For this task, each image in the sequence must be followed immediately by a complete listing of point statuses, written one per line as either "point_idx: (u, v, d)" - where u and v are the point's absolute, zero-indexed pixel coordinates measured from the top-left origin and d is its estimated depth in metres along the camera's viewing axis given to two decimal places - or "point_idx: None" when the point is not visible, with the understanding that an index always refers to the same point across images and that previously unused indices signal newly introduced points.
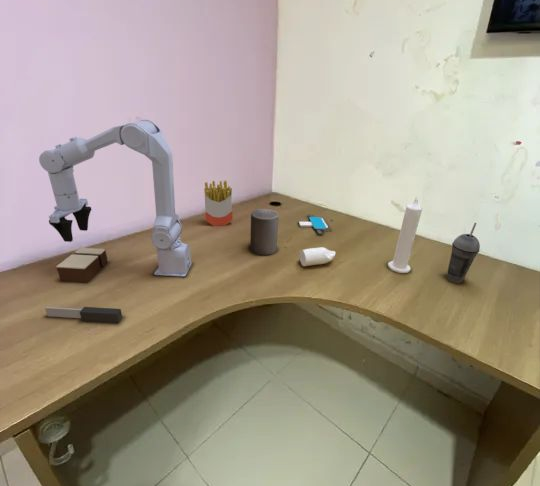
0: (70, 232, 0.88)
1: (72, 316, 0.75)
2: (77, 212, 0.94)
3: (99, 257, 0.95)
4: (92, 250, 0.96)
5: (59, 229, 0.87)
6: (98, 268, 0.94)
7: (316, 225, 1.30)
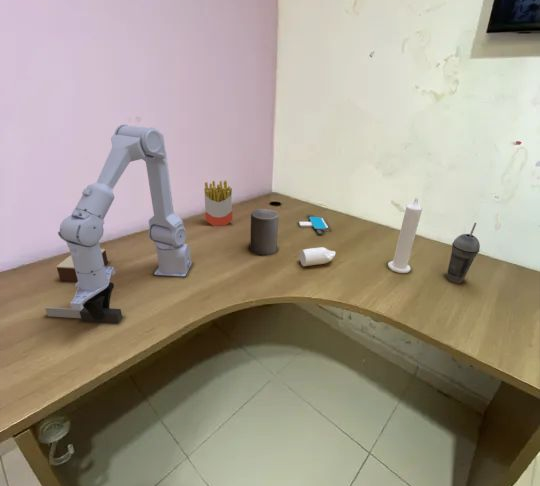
0: (101, 309, 0.72)
1: (72, 316, 0.75)
2: None
3: None
4: None
5: (88, 307, 0.71)
6: None
7: (316, 225, 1.30)
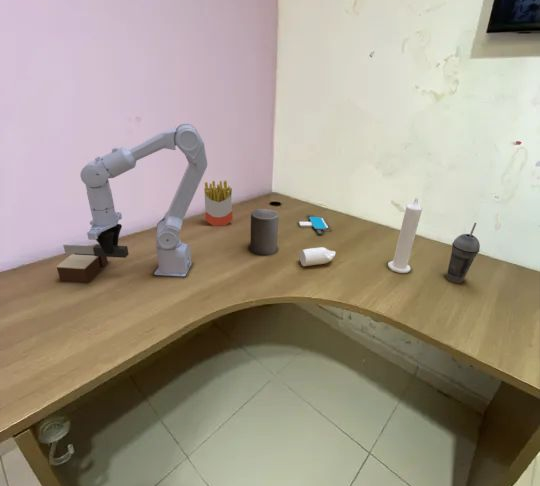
0: (111, 244, 0.86)
1: (86, 252, 0.89)
2: (107, 230, 0.88)
3: (99, 257, 0.95)
4: None
5: (100, 242, 0.85)
6: (98, 268, 0.94)
7: (316, 225, 1.30)
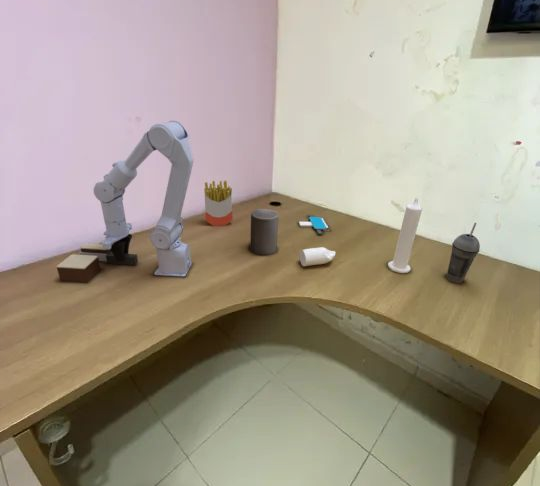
0: (123, 253, 0.95)
1: (99, 259, 0.98)
2: (119, 240, 0.96)
3: (104, 252, 0.97)
4: (97, 245, 0.98)
5: (113, 250, 0.94)
6: (98, 268, 0.94)
7: (316, 225, 1.30)
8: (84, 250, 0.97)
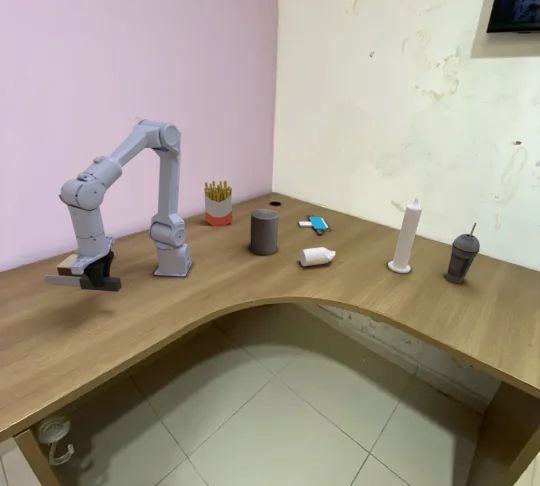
0: (101, 277, 0.72)
1: (71, 284, 0.75)
2: (97, 259, 0.74)
3: None
4: None
5: (88, 274, 0.71)
6: None
7: (316, 225, 1.30)
8: None
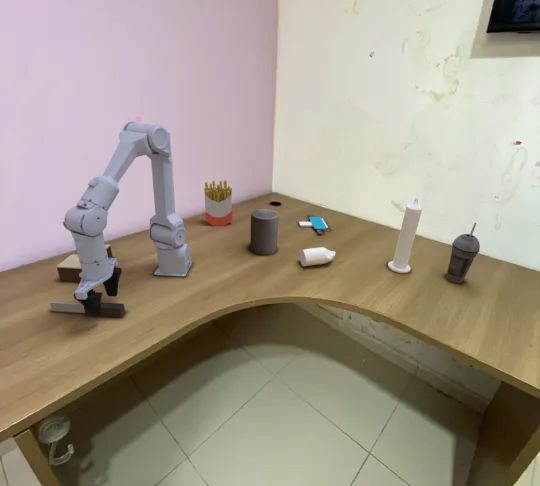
0: (99, 306, 0.71)
1: (76, 311, 0.77)
2: None
3: None
4: None
5: (85, 304, 0.70)
6: None
7: (316, 225, 1.30)
8: None
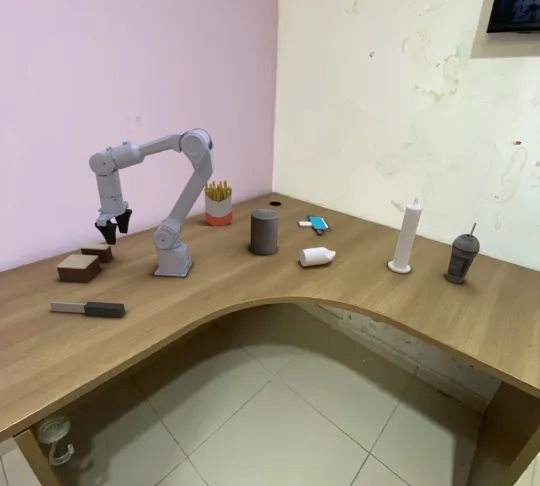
0: (114, 235, 0.87)
1: (76, 311, 0.77)
2: (118, 215, 0.93)
3: (104, 252, 0.97)
4: (97, 245, 0.98)
5: (103, 232, 0.86)
6: (98, 268, 0.94)
7: (316, 225, 1.30)
8: (84, 250, 0.97)
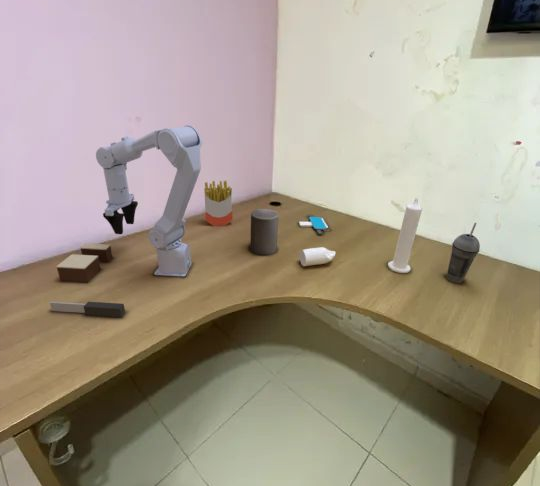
0: (121, 225, 0.93)
1: (76, 311, 0.77)
2: (125, 206, 0.99)
3: (104, 252, 0.97)
4: (97, 245, 0.98)
5: (111, 222, 0.92)
6: (98, 268, 0.94)
7: (316, 225, 1.30)
8: (84, 250, 0.97)
